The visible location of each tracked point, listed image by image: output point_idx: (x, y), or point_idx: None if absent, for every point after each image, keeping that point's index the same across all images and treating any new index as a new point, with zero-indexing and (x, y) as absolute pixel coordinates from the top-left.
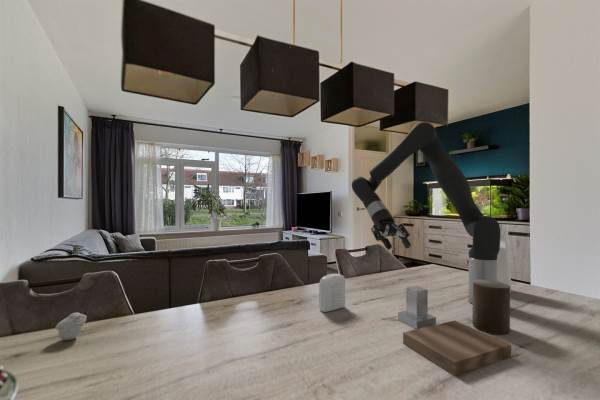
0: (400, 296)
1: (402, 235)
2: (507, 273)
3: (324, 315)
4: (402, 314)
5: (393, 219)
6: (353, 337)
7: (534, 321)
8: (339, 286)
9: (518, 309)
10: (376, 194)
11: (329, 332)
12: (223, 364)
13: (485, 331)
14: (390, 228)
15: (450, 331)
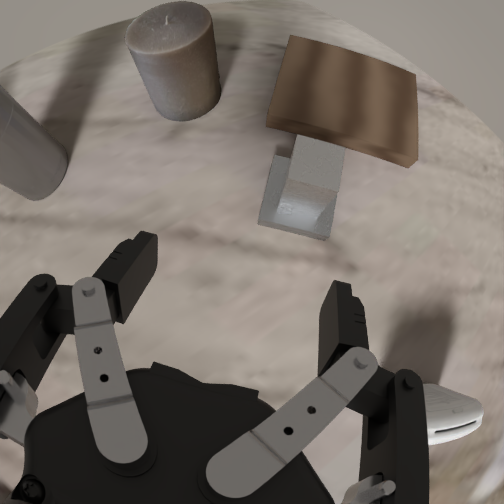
0: (144, 352)
1: (108, 310)
2: None
3: (443, 370)
4: (332, 219)
5: (14, 501)
6: (463, 245)
7: (92, 75)
8: (427, 401)
9: (40, 116)
10: None
11: (482, 290)
12: None
13: (220, 89)
14: (186, 440)
15: (332, 100)
